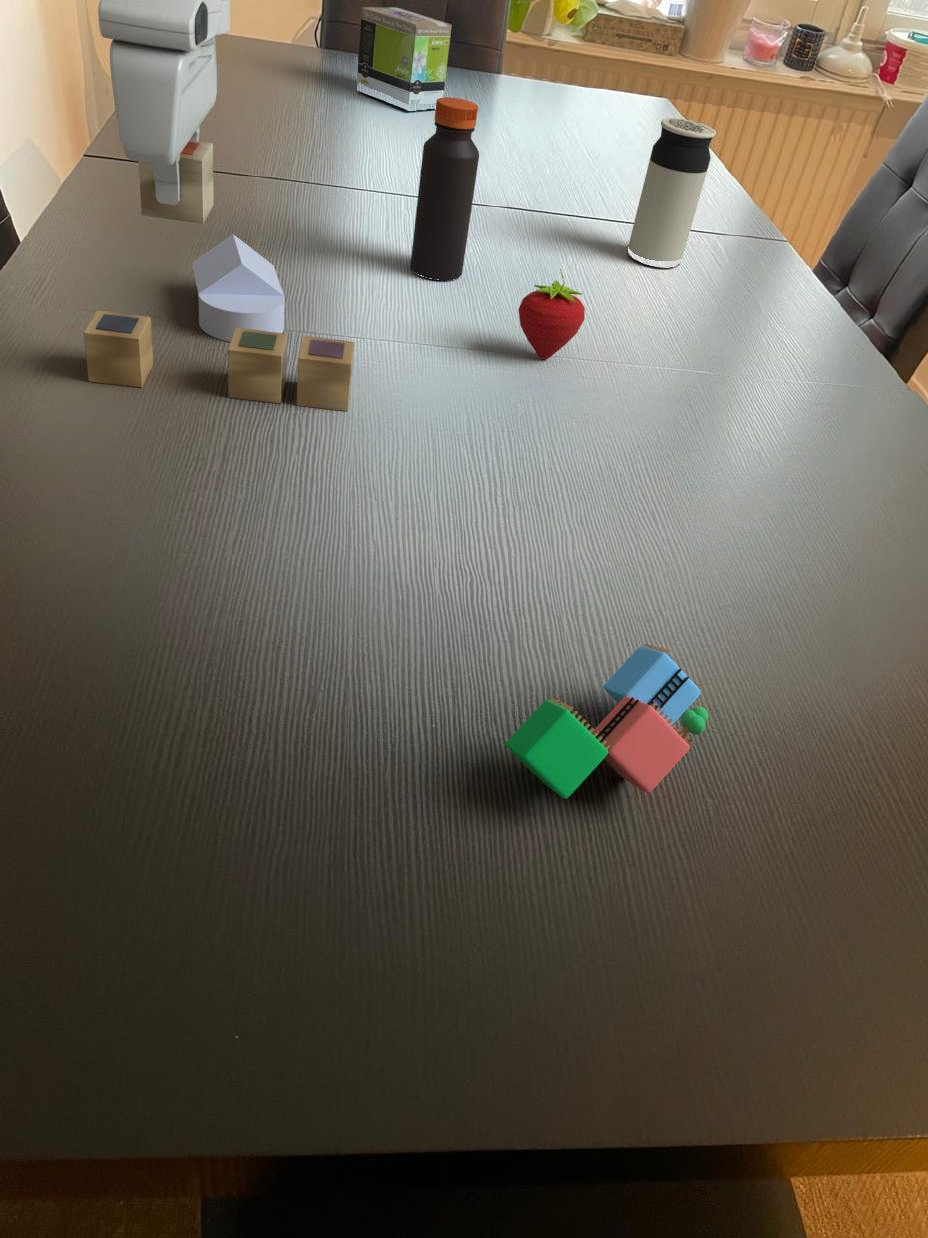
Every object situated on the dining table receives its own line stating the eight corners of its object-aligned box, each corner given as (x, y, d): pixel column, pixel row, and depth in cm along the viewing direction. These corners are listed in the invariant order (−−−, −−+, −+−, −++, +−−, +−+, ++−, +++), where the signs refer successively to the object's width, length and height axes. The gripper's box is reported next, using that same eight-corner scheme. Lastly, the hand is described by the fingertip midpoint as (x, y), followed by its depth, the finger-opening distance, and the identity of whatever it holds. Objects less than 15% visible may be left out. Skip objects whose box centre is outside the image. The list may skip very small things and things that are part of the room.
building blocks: (563, 807, 68) (679, 680, 69) (610, 844, 60) (739, 700, 61) (485, 731, 66) (605, 602, 67) (523, 759, 58) (658, 612, 59)
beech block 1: (88, 381, 93) (82, 330, 90) (101, 358, 97) (96, 308, 94) (142, 388, 94) (139, 337, 91) (153, 364, 98) (150, 315, 94)
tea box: (443, 109, 193) (454, 23, 183) (406, 113, 186) (415, 24, 177) (391, 88, 200) (398, 4, 190) (353, 91, 193) (359, 4, 184)
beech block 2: (228, 397, 95) (227, 348, 92) (235, 374, 99) (235, 325, 95) (280, 403, 95) (281, 354, 92) (286, 380, 99) (287, 332, 96)
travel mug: (637, 268, 139) (672, 131, 128) (619, 247, 145) (651, 114, 134) (688, 271, 141) (727, 137, 130) (668, 250, 147) (704, 120, 136)
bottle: (400, 271, 126) (418, 99, 113) (424, 257, 131) (444, 91, 118) (447, 286, 124) (471, 114, 111) (470, 271, 129) (495, 105, 116)
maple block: (141, 215, 81) (137, 149, 77) (154, 196, 85) (151, 132, 81) (203, 224, 81) (202, 158, 78) (213, 204, 85) (212, 141, 82)
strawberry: (504, 345, 113) (519, 259, 107) (565, 347, 115) (584, 262, 109) (517, 369, 109) (534, 280, 102) (581, 371, 111) (602, 284, 104)
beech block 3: (296, 405, 96) (298, 356, 92) (301, 381, 99) (303, 334, 96) (347, 411, 96) (351, 363, 93) (350, 387, 100) (354, 340, 97)
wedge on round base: (192, 291, 112) (202, 342, 103) (190, 232, 108) (201, 279, 98) (272, 293, 115) (289, 343, 105) (273, 235, 110) (291, 282, 101)
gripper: (156, -31, 81) (164, 149, 89) (90, 12, 65) (107, 225, 74) (234, -18, 81) (234, 159, 90) (187, 28, 66) (193, 236, 75)
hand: (176, 189), depth 82 cm, fingers closed on maple block, 5 cm apart
